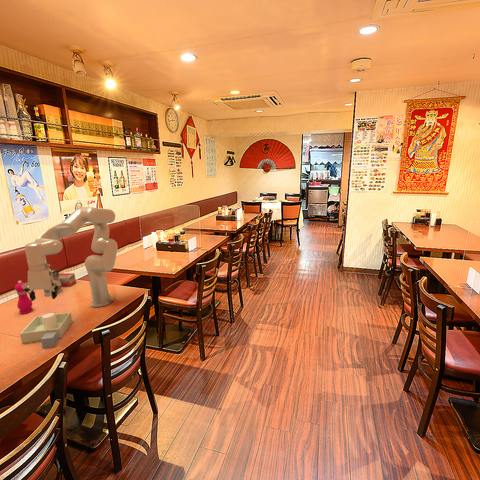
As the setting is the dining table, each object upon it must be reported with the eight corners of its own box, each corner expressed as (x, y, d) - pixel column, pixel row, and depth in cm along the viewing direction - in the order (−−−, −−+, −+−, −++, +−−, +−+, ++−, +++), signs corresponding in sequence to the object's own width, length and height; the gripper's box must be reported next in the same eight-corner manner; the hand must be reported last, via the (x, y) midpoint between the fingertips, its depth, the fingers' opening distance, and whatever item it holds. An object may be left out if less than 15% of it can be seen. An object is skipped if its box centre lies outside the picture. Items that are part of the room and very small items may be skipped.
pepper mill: (25, 315, 166) (18, 283, 162) (15, 314, 168) (8, 282, 163) (36, 309, 173) (30, 278, 168) (27, 308, 175) (20, 278, 170)
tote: (72, 321, 159) (70, 312, 157) (61, 338, 142) (59, 328, 141) (37, 325, 155) (35, 316, 153) (22, 343, 139) (19, 333, 137)
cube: (58, 340, 140) (56, 331, 139) (54, 346, 136) (52, 337, 135) (47, 342, 139) (45, 333, 138) (42, 348, 135) (40, 339, 133)
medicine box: (49, 287, 206) (47, 277, 204) (56, 283, 214) (54, 273, 212) (70, 287, 206) (68, 277, 204) (76, 282, 214) (74, 273, 212)
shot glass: (47, 331, 147) (44, 319, 146) (40, 328, 151) (38, 316, 149) (60, 325, 153) (58, 314, 151) (54, 322, 157) (52, 311, 155)
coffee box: (54, 296, 191) (49, 273, 187) (44, 296, 191) (40, 274, 187) (62, 290, 200) (58, 269, 196) (53, 290, 200) (49, 269, 196)
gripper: (60, 263, 145) (65, 294, 149) (22, 266, 142) (28, 297, 146) (54, 268, 138) (59, 300, 142) (14, 271, 135) (21, 304, 139)
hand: (44, 298), depth 144 cm, fingers open, 9 cm apart
